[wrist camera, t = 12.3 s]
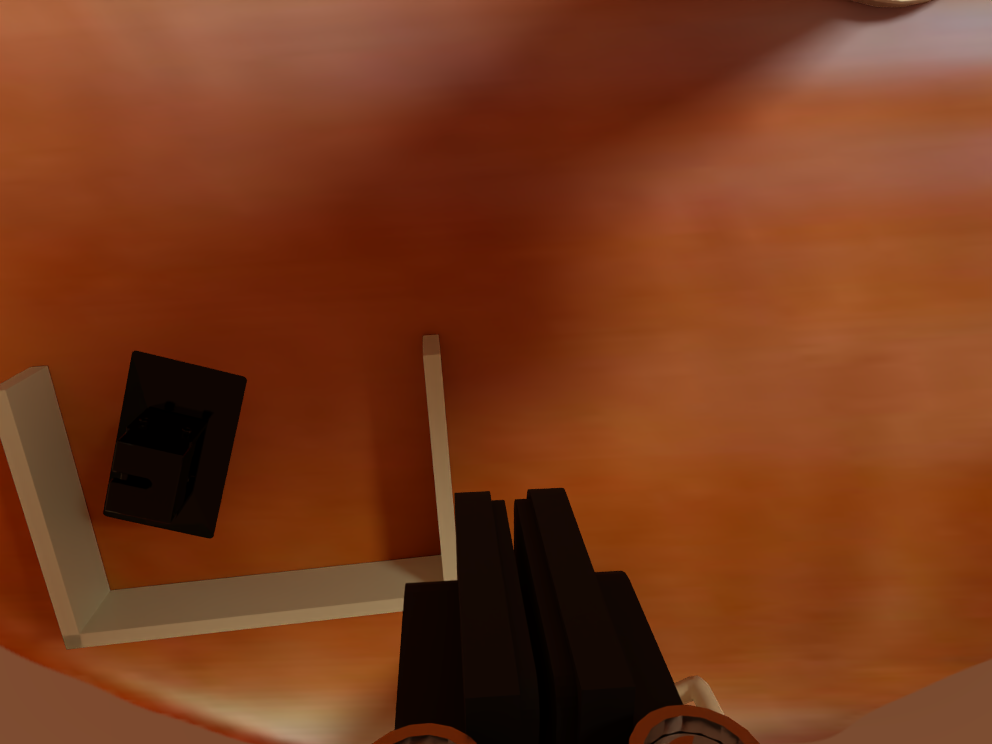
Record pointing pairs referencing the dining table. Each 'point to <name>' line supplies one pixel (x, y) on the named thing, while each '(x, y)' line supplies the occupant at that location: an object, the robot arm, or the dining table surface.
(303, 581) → the corral
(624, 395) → the dining table surface
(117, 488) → the black piece
